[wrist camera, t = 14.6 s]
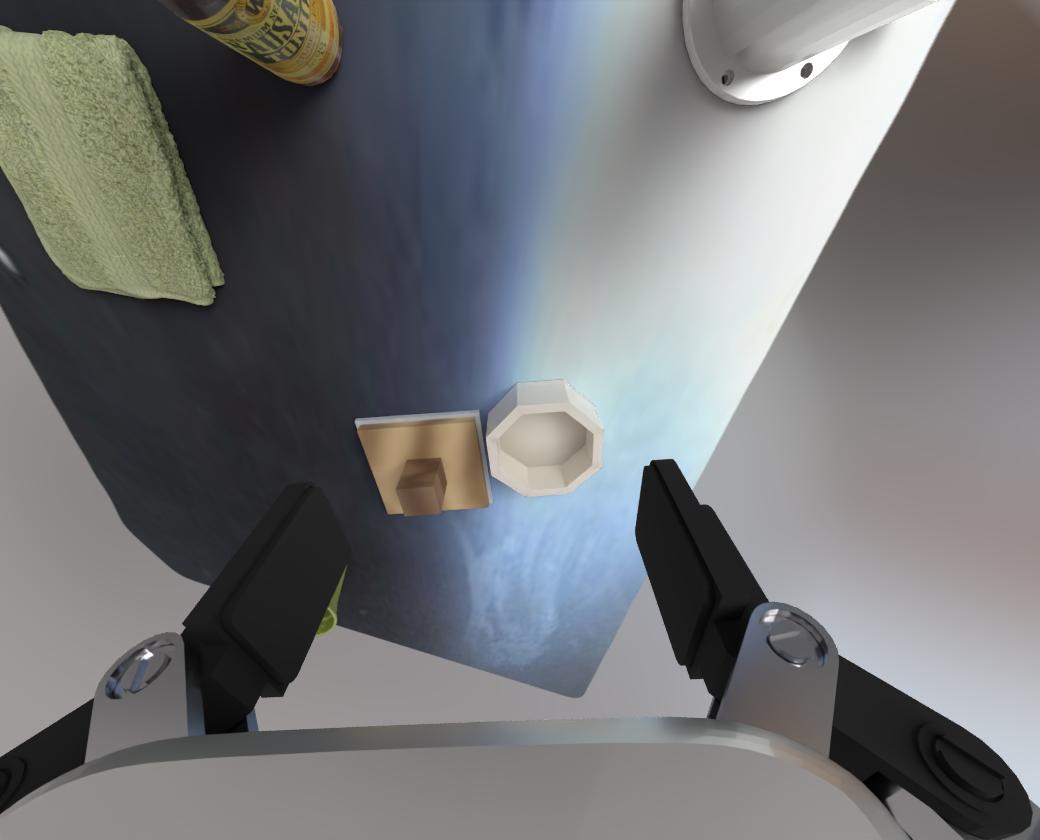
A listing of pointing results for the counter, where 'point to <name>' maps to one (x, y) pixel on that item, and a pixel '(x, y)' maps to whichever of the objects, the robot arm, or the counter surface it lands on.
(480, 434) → the mat
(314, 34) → the sauce bottle
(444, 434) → the lid
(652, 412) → the counter surface
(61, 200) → the washcloth
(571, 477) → the bowl
